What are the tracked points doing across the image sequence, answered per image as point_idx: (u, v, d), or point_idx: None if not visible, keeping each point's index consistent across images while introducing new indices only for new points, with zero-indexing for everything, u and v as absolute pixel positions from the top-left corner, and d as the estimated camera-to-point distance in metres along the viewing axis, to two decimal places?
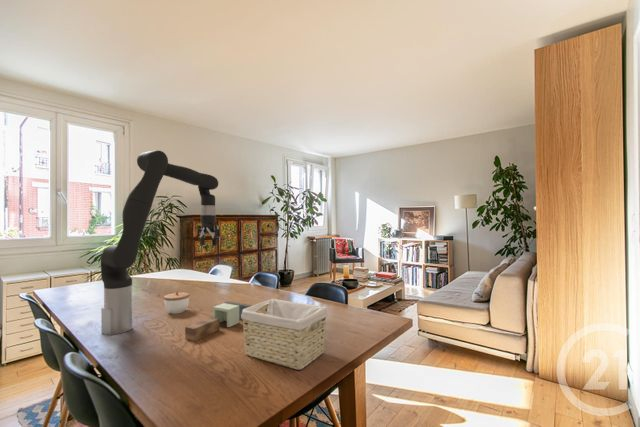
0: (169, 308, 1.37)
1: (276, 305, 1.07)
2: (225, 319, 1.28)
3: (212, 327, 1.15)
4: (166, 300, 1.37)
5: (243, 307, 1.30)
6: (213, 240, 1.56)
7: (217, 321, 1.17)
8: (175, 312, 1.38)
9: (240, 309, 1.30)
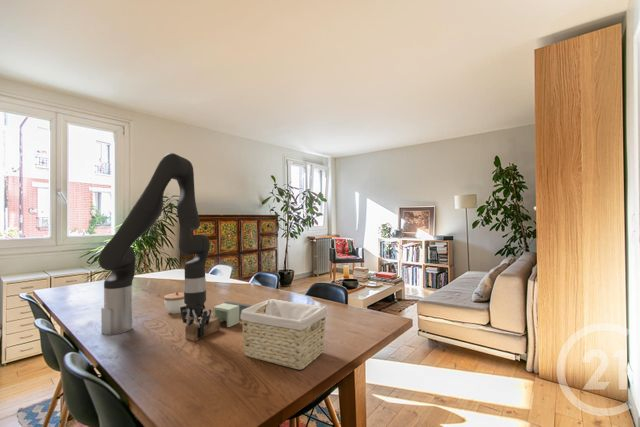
0: (169, 308, 1.37)
1: (274, 305, 1.07)
2: (225, 319, 1.28)
3: (212, 326, 1.15)
4: (166, 300, 1.37)
5: (243, 307, 1.30)
6: (199, 330, 1.09)
7: (217, 320, 1.17)
8: (175, 312, 1.38)
9: (240, 309, 1.30)
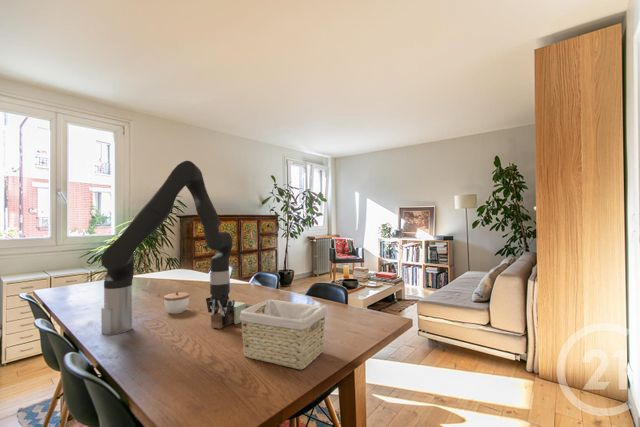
0: (169, 308, 1.37)
1: (273, 306, 1.06)
2: None
3: None
4: (166, 300, 1.37)
5: None
6: (223, 319, 1.19)
7: None
8: (175, 312, 1.38)
9: None
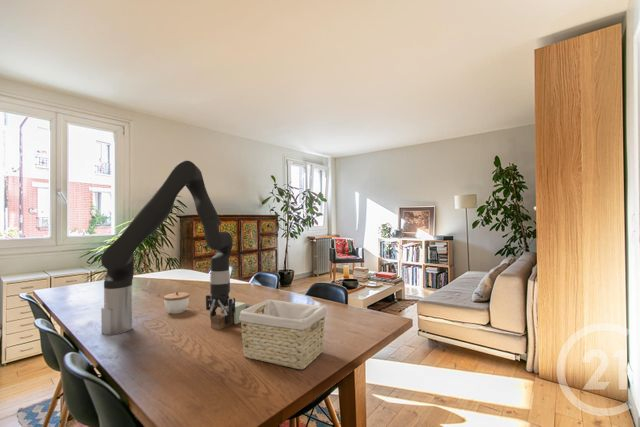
0: (169, 308, 1.37)
1: (272, 306, 1.06)
2: None
3: None
4: (166, 300, 1.37)
5: None
6: (226, 317, 1.19)
7: None
8: (175, 312, 1.38)
9: None
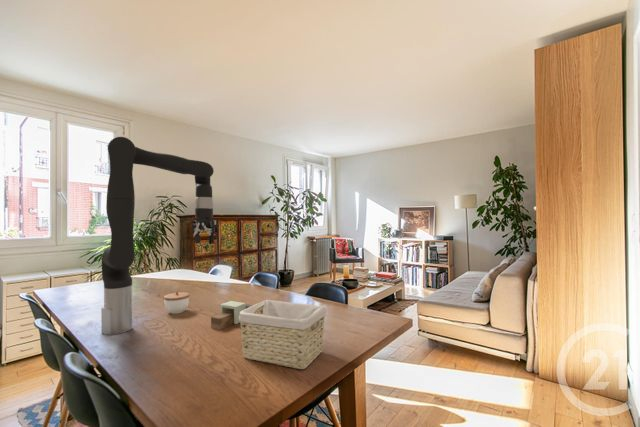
0: (169, 308, 1.37)
1: (271, 306, 1.06)
2: None
3: None
4: (166, 300, 1.37)
5: None
6: (210, 237, 1.34)
7: None
8: (175, 312, 1.38)
9: None
